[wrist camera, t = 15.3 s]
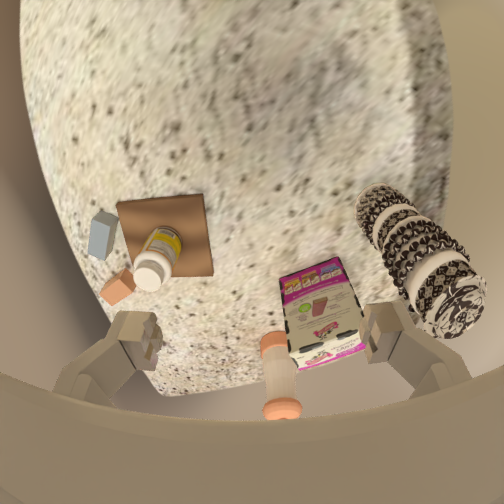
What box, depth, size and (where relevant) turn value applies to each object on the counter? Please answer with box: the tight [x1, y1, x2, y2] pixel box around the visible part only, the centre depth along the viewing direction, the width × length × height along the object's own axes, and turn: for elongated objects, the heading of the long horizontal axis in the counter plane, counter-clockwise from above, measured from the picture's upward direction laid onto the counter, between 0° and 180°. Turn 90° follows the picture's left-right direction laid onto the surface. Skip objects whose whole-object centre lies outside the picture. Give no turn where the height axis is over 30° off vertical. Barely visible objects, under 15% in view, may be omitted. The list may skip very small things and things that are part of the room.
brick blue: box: [88, 211, 118, 261], centre depth 42 cm, size 7×4×4 cm, turn 155°
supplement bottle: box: [133, 227, 182, 292], centre depth 39 cm, size 6×6×10 cm
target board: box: [116, 194, 214, 277], centre depth 44 cm, size 14×14×1 cm
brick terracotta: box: [99, 268, 136, 306], centre depth 48 cm, size 7×4×4 cm, turn 124°
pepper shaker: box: [261, 331, 302, 420], centre depth 49 cm, size 7×7×19 cm
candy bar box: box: [279, 257, 366, 371], centre depth 41 cm, size 11×5×16 cm, turn 115°
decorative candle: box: [354, 183, 487, 339], centre depth 30 cm, size 9×9×25 cm
